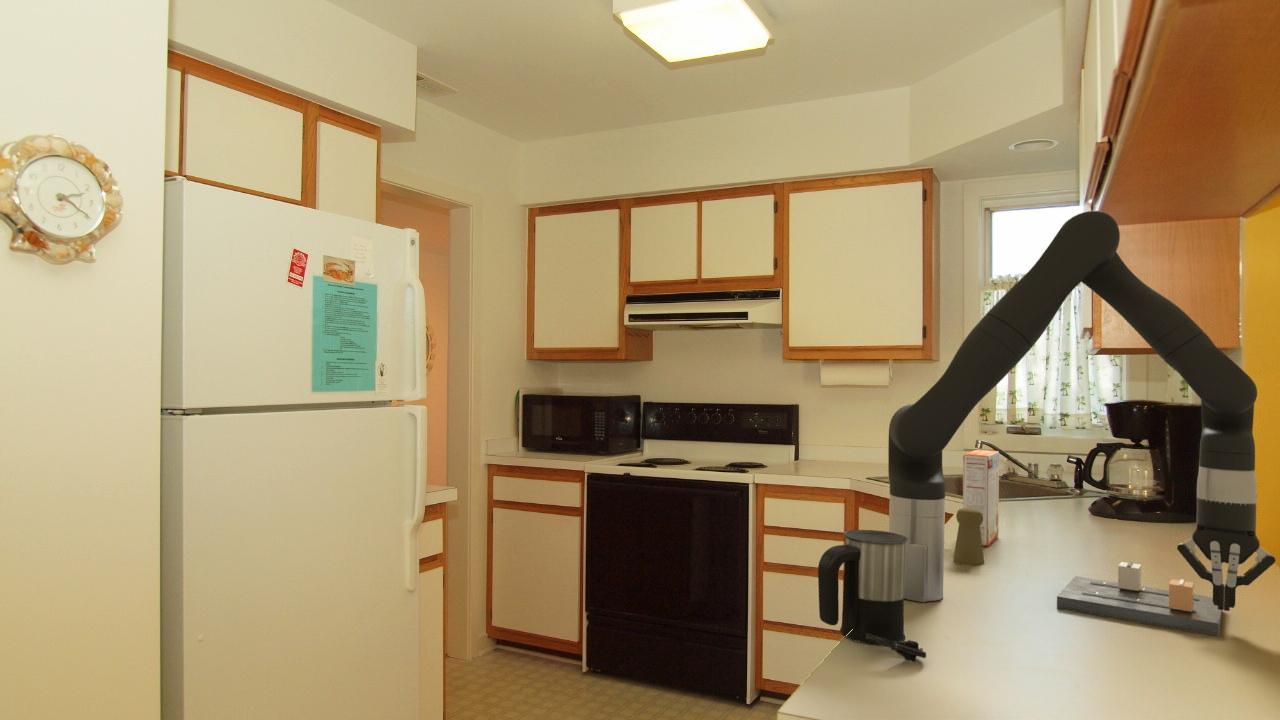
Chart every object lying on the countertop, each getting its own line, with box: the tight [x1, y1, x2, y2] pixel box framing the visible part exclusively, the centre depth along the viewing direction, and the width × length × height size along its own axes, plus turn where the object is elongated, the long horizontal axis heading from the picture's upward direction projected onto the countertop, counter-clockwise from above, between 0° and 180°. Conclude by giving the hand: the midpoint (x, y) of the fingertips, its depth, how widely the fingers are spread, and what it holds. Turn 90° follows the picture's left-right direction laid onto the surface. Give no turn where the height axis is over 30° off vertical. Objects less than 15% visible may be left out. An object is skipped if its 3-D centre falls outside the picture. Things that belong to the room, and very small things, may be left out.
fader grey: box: [1117, 561, 1142, 591], centre depth 141 cm, size 4×3×4 cm
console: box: [1056, 575, 1223, 638], centre depth 136 cm, size 18×22×2 cm
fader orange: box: [1168, 578, 1195, 612], centre depth 129 cm, size 4×3×4 cm
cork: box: [953, 507, 985, 566], centre depth 169 cm, size 6×6×11 cm
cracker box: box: [962, 449, 1000, 547], centre depth 191 cm, size 14×6×21 cm, turn 147°
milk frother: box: [817, 529, 927, 663], centre depth 115 cm, size 14×16×15 cm
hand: (1224, 609), depth 126 cm, fingers closed
